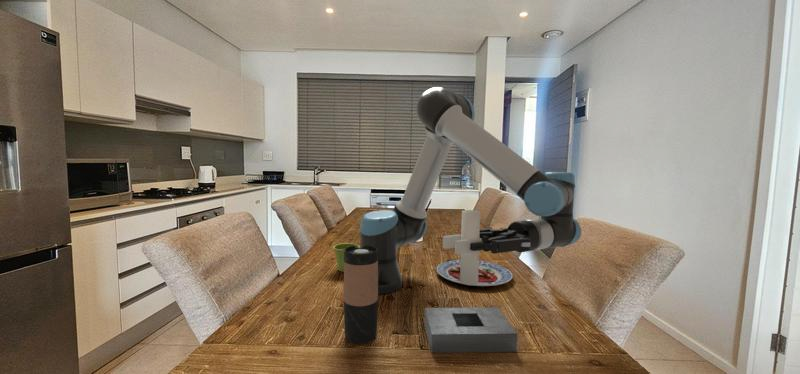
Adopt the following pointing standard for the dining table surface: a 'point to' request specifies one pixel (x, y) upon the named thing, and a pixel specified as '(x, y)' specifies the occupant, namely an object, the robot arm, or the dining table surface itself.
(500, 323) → the hole block
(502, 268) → the ceramic plate
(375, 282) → the travel mug
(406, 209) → the robot arm
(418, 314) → the dining table surface
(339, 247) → the plant pot
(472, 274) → the peg
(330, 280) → the dining table surface
